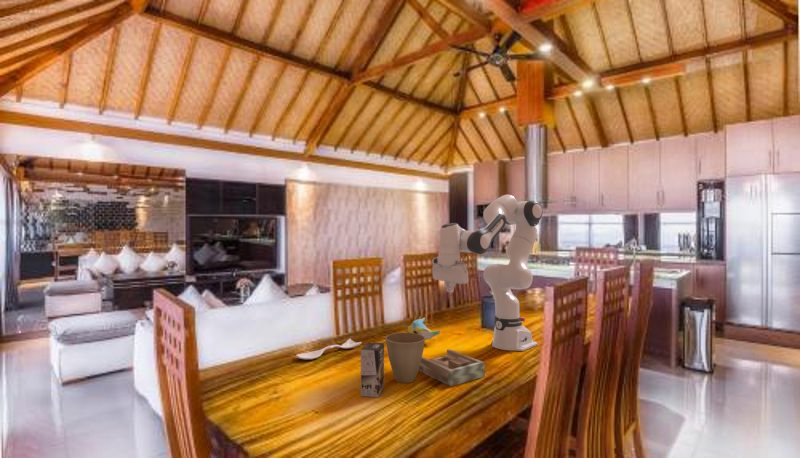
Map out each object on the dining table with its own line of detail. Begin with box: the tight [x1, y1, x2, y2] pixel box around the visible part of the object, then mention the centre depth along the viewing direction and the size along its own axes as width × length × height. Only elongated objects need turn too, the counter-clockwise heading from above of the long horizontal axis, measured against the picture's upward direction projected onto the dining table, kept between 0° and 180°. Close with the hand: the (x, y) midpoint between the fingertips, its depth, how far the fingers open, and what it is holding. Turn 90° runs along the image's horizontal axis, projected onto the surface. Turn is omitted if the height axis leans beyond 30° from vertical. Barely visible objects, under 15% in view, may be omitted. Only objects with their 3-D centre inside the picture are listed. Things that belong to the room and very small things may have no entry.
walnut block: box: [448, 357, 471, 369], centre depth 158 cm, size 6×6×4 cm
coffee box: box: [360, 342, 385, 398], centre depth 145 cm, size 9×6×16 cm
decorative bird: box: [404, 317, 441, 341], centre depth 215 cm, size 14×30×9 cm, turn 11°
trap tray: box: [418, 348, 486, 387], centre depth 163 cm, size 17×22×6 cm
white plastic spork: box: [295, 338, 362, 361], centre depth 190 cm, size 9×32×4 cm, turn 134°
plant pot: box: [385, 332, 426, 384], centre depth 157 cm, size 15×15×16 cm
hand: (450, 292), depth 181 cm, fingers closed
